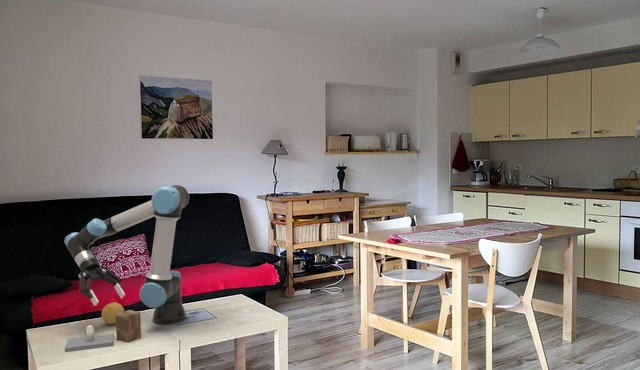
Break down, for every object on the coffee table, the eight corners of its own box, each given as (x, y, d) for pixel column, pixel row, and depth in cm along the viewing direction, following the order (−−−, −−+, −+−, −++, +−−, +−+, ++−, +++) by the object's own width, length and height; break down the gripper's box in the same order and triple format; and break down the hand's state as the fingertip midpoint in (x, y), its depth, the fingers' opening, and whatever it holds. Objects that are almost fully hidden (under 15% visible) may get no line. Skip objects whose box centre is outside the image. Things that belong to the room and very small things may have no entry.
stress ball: (123, 319, 255) (122, 298, 255) (125, 325, 247) (125, 303, 246) (101, 322, 251) (100, 301, 251) (102, 328, 242) (101, 306, 242)
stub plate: (114, 336, 230) (113, 318, 230) (113, 345, 219) (112, 326, 219) (68, 342, 224) (67, 323, 224) (65, 351, 213) (64, 332, 213)
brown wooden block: (130, 334, 232) (129, 310, 232) (141, 337, 229) (140, 312, 228) (116, 339, 226) (115, 314, 226) (127, 342, 223) (126, 316, 222)
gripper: (107, 263, 252) (129, 298, 245) (57, 273, 230) (80, 312, 223) (114, 253, 249) (137, 288, 242) (65, 262, 227) (88, 301, 220)
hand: (110, 300), depth 232 cm, fingers open, 13 cm apart
